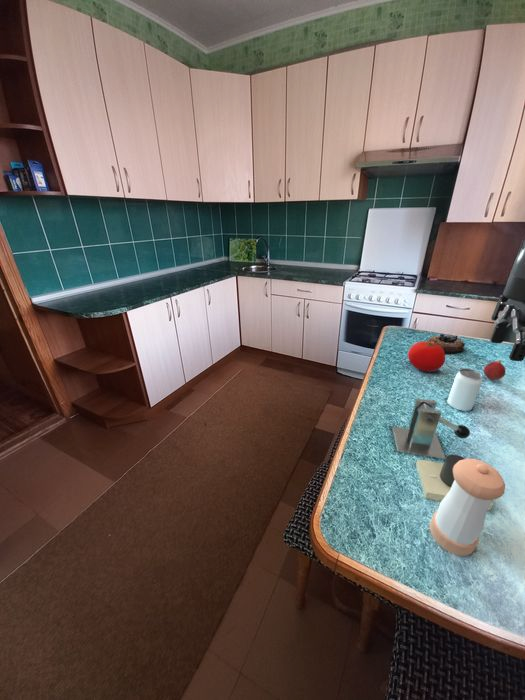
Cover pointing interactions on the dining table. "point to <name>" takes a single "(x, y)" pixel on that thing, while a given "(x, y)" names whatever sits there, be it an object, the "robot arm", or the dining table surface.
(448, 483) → the dial knob
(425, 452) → the bracket
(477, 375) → the can
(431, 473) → the dial panel
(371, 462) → the dining table surface
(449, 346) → the pastry
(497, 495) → the pepper shaker
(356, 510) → the dining table surface
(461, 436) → the tap lever
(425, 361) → the tomato
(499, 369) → the red rounded piece
